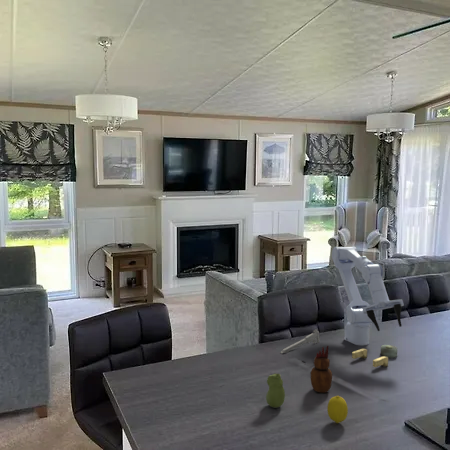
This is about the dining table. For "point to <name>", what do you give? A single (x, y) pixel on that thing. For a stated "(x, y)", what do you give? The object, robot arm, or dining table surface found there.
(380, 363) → the knob
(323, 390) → the wooden figurine
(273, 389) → the pear
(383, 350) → the base
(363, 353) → the knob
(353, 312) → the robot arm
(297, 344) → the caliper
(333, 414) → the lemon
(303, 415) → the dining table surface
